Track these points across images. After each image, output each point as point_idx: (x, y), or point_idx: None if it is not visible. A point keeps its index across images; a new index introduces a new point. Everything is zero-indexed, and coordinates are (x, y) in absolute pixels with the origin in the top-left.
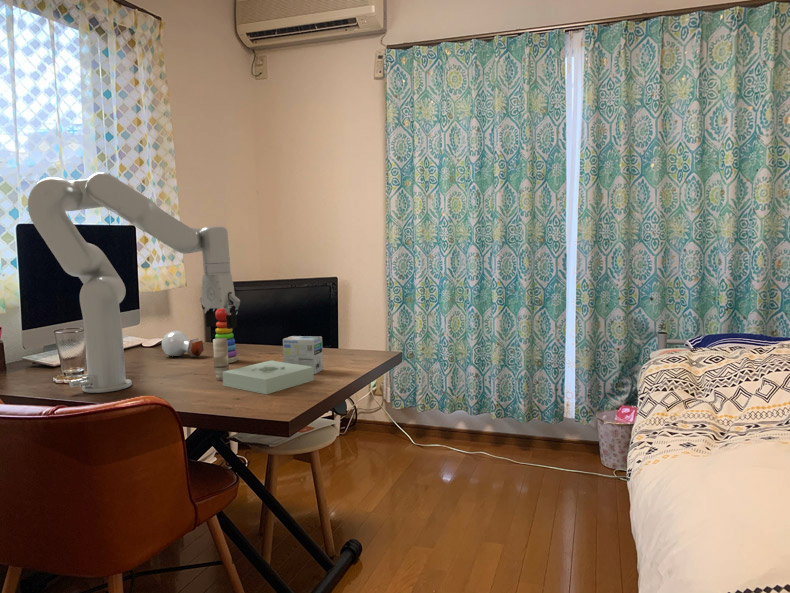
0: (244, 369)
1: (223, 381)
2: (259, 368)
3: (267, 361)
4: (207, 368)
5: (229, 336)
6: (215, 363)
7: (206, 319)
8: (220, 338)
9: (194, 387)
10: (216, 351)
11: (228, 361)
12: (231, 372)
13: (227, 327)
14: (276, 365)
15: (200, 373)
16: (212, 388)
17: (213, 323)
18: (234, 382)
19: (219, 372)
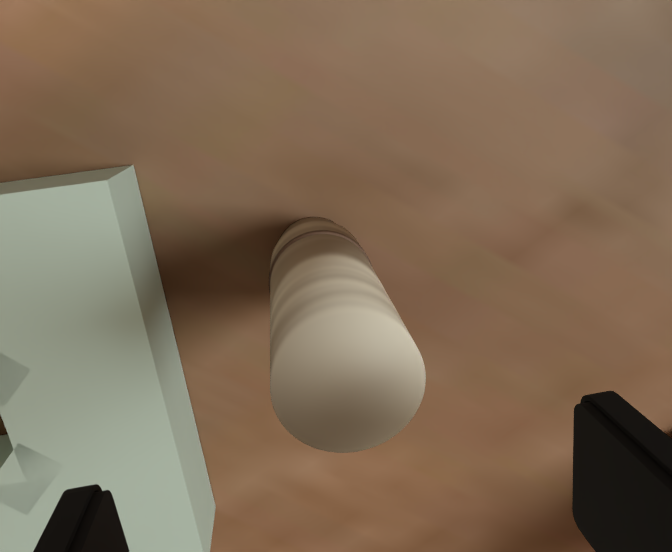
0: (58, 328)
1: (120, 170)
2: (9, 410)
3: (192, 541)
4: (648, 333)
5: None
6: (318, 240)
7: (665, 461)
8: (389, 409)
9: (242, 6)
10: (309, 278)
11: None
12: (26, 213)
13: (74, 493)
14: (19, 523)
15: (572, 241)
16: (115, 76)
17: (592, 508)
18: None
19: (284, 235)
